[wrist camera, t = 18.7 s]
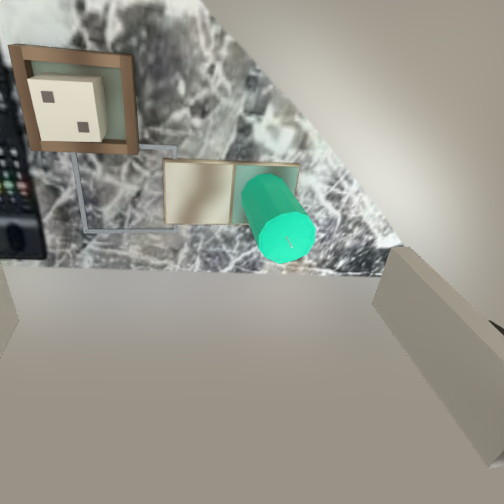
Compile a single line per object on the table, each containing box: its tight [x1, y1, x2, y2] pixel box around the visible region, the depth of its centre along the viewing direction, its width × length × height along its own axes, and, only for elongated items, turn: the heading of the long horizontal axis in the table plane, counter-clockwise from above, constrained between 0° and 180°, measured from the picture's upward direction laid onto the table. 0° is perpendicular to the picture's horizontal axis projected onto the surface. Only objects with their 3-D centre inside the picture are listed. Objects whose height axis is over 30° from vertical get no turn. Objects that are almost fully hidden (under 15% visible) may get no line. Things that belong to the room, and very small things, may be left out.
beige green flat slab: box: [163, 158, 300, 225], centre depth 44 cm, size 16×8×1 cm, turn 84°
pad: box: [71, 144, 178, 233], centre depth 41 cm, size 11×11×1 cm
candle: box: [241, 173, 316, 264], centre depth 39 cm, size 6×6×12 cm
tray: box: [8, 44, 139, 155], centre depth 35 cm, size 10×9×2 cm
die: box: [27, 72, 109, 142], centre depth 33 cm, size 5×5×5 cm
